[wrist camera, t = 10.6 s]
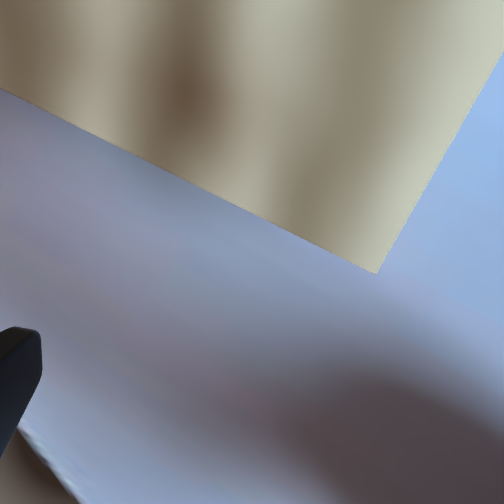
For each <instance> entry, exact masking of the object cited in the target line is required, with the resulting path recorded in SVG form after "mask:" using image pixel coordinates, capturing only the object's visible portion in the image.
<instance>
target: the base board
mask: <svg viewBox="0 0 504 504" xmlns="http://www.w3.org/2000/svg"><path fill="white" fill-rule="evenodd" d="M503 51H504V0H0V88H1V89H3V90H5V91H7V92H9V93H11V94H13V95H15V96H17V97H19V98H21V99H23V100H25V101H27V102H29V103H31V104H33V105H35V106H37V107H39V108H41V109H43V110H45V111H47V112H49V113H51V114H53V115H55V116H57V117H59V118H61V119H63V120H65V121H67V122H69V123H71V124H73V125H75V126H77V127H79V128H81V129H83V130H85V131H87V132H89V133H91V134H93V135H95V136H97V137H100V138H102V139H104V140H106V141H108V142H110V143H112V144H114V145H116V146H118V147H120V148H122V149H124V150H126V151H128V152H130V153H132V154H134V155H136V156H138V157H140V158H142V159H144V160H146V161H148V162H150V163H152V164H154V165H156V166H158V167H160V168H162V169H164V170H166V171H168V172H170V173H172V174H174V175H176V176H178V177H180V178H182V179H184V180H186V181H188V182H190V183H192V184H194V185H196V186H198V187H200V188H202V189H204V190H206V191H208V192H210V193H212V194H214V195H216V196H218V197H220V198H222V199H224V200H226V201H228V202H230V203H232V204H234V205H236V206H238V207H240V208H242V209H244V210H246V211H248V212H250V213H252V214H254V215H256V216H258V217H260V218H262V219H264V220H266V221H268V222H270V223H272V224H274V225H276V226H278V227H281V228H283V229H285V230H287V231H289V232H291V233H293V234H295V235H297V236H299V237H301V238H303V239H305V240H307V241H309V242H311V243H313V244H315V245H317V246H319V247H321V248H323V249H325V250H327V251H329V252H331V253H333V254H335V255H337V256H339V257H341V258H343V259H345V260H347V261H349V262H351V263H353V264H355V265H357V266H359V267H361V268H363V269H365V270H367V271H369V272H371V273H373V274H375V275H376V273H377V271H378V270H379V268H380V266H381V264H382V263H383V261H384V259H385V257H386V256H387V254H388V252H389V250H390V249H391V247H392V245H393V244H394V242H395V240H396V238H397V237H398V235H399V233H400V231H401V230H402V228H403V226H404V224H405V223H406V221H407V219H408V217H409V216H410V214H411V212H412V210H413V209H414V207H415V205H416V203H417V202H418V200H419V198H420V196H421V195H422V193H423V191H424V189H425V188H426V186H427V184H428V182H429V181H430V179H431V177H432V175H433V174H434V172H435V170H436V168H437V167H438V165H439V163H440V161H441V160H442V158H443V156H444V154H445V153H446V151H447V149H448V147H449V146H450V144H451V142H452V140H453V139H454V137H455V135H456V133H457V132H458V130H459V128H460V126H461V125H462V123H463V121H464V119H465V118H466V116H467V114H468V112H469V111H470V109H471V107H472V106H473V104H474V102H475V100H476V99H477V97H478V95H479V93H480V92H481V90H482V88H483V86H484V85H485V83H486V81H487V79H488V78H489V76H490V74H491V72H492V71H493V69H494V67H495V65H496V64H497V62H498V60H499V58H500V57H501V55H502V53H503Z"/></svg>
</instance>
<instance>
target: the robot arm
mask: <svg viewBox="0 0 504 504" xmlns="http://www.w3.org/2000/svg"><path fill="white" fill-rule="evenodd" d="M41 375H42V349H41V337H40V334H39V333H38V332H37V331H36V330H32V329H27V328H22V327H11V328H8V329H6V330H4V331H1V332H0V459H1V457H2V455H3V453H4V451H5V449H6V447H7V445H8V443H9V441H10V439H11V437H12V435H13V433H14V431H15V429H16V427H17V425H18V423H19V421H20V419H21V417H22V415H23V413H24V411H25V409H26V407H27V405H28V403H29V401H30V399H31V398H32V396H33V394H34V392H35V390H36V388H37V386H38V383H39V381H40V378H41Z"/></svg>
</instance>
